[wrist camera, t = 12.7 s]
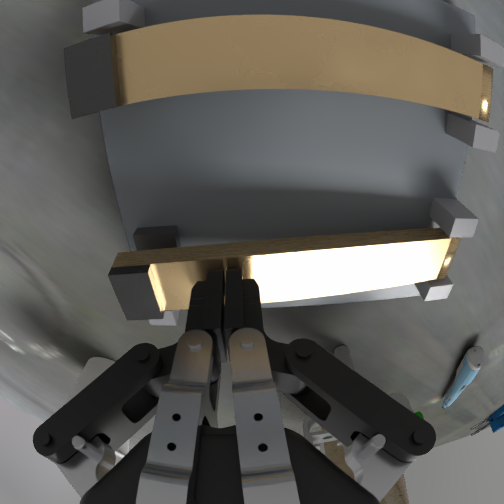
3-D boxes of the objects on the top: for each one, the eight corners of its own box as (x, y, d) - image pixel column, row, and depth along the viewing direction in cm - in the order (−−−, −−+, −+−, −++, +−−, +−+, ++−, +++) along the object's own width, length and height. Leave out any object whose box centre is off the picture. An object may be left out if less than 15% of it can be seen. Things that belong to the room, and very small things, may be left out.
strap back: (452, 225, 15) (470, 242, 13) (438, 264, 16) (453, 282, 15) (118, 251, 14) (108, 275, 12) (134, 295, 15) (127, 320, 14)
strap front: (480, 67, 9) (504, 72, 7) (476, 117, 11) (499, 126, 9) (85, 49, 8) (64, 48, 7) (92, 110, 10) (71, 118, 9)
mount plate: (459, 16, 9) (509, 15, 5) (415, 282, 20) (439, 323, 17) (104, -1, 9) (59, -16, 5) (155, 294, 20) (140, 342, 17)
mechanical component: (284, 352, 25) (295, 458, 17) (393, 328, 24) (428, 424, 15) (288, 368, 26) (298, 465, 18) (389, 346, 25) (418, 435, 17)
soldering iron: (486, 427, 78) (496, 457, 63) (441, 447, 76) (450, 483, 61) (535, 385, 58) (550, 420, 43) (496, 407, 56) (511, 450, 41)
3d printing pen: (476, 369, 24) (491, 356, 24) (462, 352, 27) (476, 340, 27) (443, 415, 35) (455, 406, 36) (435, 403, 38) (446, 394, 38)
